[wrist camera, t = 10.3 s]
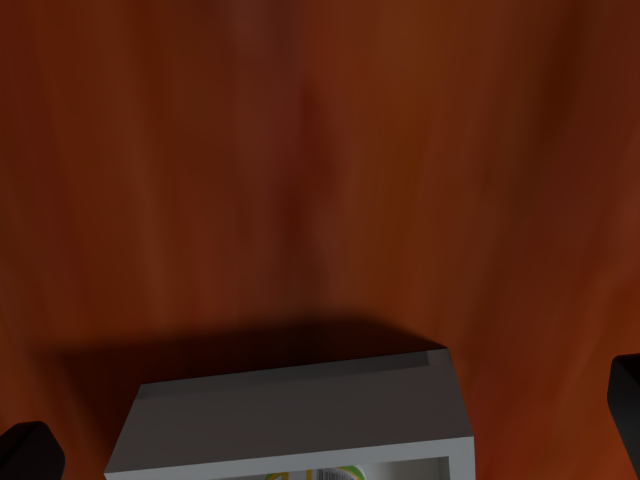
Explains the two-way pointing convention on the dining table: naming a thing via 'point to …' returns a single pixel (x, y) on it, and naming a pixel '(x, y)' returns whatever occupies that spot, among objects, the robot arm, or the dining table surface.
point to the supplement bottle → (321, 474)
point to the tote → (302, 423)
